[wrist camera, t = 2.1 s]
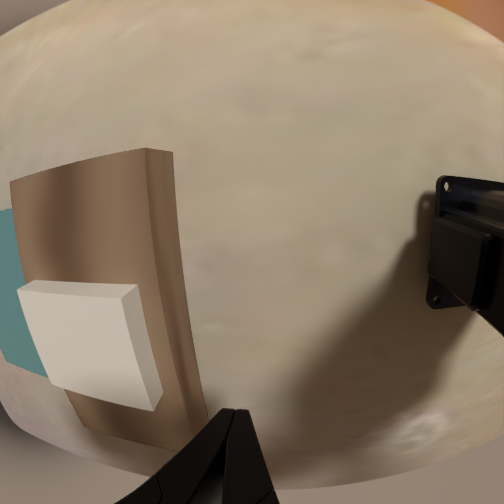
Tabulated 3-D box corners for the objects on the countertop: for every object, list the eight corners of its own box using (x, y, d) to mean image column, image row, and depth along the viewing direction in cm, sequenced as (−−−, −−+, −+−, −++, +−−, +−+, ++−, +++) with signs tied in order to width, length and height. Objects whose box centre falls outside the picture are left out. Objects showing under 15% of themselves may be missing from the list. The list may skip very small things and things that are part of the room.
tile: (137, 284, 12) (120, 298, 10) (163, 392, 13) (153, 411, 12) (34, 279, 12) (16, 289, 11) (64, 371, 14) (51, 384, 12)
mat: (43, 201, 14) (39, 202, 14) (92, 387, 18) (89, 390, 18) (-31, 219, 16) (-34, 220, 15) (8, 359, 19) (6, 361, 19)
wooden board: (172, 151, 13) (144, 147, 10) (208, 422, 17) (199, 454, 14) (44, 177, 14) (9, 181, 11) (101, 402, 18) (83, 426, 15)
